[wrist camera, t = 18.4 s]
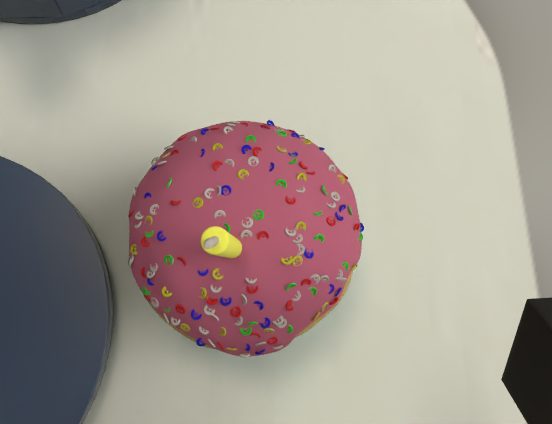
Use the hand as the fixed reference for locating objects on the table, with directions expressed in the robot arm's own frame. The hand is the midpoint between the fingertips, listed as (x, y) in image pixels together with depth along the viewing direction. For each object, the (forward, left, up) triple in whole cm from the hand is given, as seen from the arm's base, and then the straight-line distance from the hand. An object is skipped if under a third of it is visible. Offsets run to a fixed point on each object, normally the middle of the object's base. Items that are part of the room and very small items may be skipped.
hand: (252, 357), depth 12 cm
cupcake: (-2, +4, -10) cm, 11 cm away
